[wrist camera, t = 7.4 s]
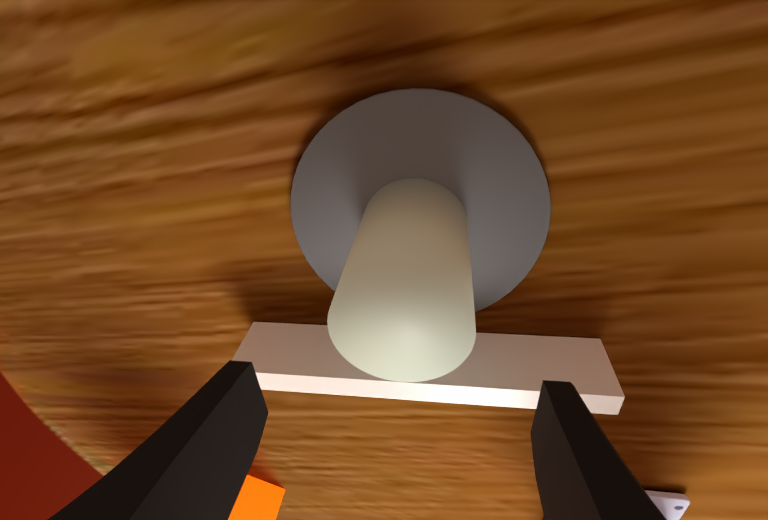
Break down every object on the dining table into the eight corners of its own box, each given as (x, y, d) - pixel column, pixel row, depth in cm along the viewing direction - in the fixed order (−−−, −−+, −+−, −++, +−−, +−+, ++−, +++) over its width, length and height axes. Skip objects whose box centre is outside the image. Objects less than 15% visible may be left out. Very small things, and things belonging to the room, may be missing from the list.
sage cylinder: (464, 271, 19) (470, 386, 14) (366, 268, 20) (335, 377, 14) (471, 178, 16) (482, 274, 11) (358, 177, 17) (317, 268, 12)
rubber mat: (528, 321, 21) (530, 327, 20) (312, 311, 22) (310, 316, 22) (572, 82, 15) (575, 85, 14) (270, 92, 16) (266, 94, 16)
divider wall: (594, 355, 21) (617, 414, 18) (258, 337, 24) (231, 387, 21) (600, 338, 21) (625, 396, 18) (253, 321, 23) (225, 370, 20)
